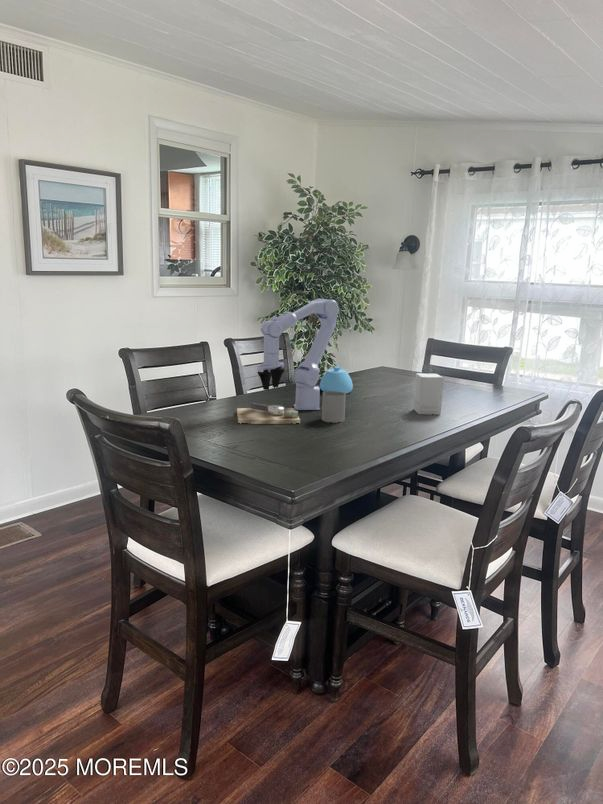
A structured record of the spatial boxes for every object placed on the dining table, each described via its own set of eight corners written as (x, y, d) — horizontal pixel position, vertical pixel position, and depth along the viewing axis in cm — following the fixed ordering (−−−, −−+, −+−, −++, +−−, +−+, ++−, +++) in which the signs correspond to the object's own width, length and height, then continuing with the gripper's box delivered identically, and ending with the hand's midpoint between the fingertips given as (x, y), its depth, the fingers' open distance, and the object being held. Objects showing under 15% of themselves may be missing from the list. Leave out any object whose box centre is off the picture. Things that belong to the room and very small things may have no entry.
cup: (328, 423, 216) (329, 396, 214) (317, 418, 223) (318, 392, 221) (348, 421, 220) (349, 394, 218) (337, 416, 227) (338, 390, 225)
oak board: (293, 411, 232) (294, 401, 232) (300, 423, 215) (300, 413, 214) (236, 412, 229) (236, 402, 228) (238, 424, 212) (238, 413, 211)
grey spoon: (287, 413, 222) (287, 406, 222) (277, 416, 217) (278, 409, 217) (256, 407, 229) (256, 401, 229) (247, 410, 224) (247, 404, 224)
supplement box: (441, 415, 234) (444, 377, 230) (418, 414, 233) (421, 377, 230) (434, 409, 242) (437, 373, 239) (412, 409, 242) (415, 372, 239)
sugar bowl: (358, 391, 275) (359, 366, 272) (342, 396, 262) (343, 370, 260) (329, 387, 282) (330, 363, 280) (313, 392, 270) (314, 366, 268)
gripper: (273, 349, 234) (273, 384, 237) (251, 353, 222) (250, 389, 225) (288, 351, 230) (287, 386, 233) (266, 355, 218) (266, 392, 221)
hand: (270, 388), depth 228 cm, fingers open, 6 cm apart
